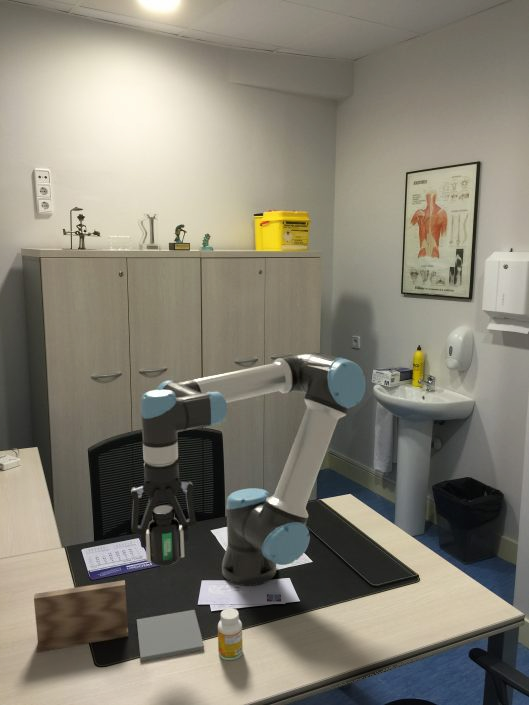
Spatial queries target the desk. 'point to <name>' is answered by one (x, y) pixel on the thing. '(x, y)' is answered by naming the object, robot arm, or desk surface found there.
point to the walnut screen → (80, 615)
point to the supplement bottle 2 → (230, 635)
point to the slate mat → (169, 635)
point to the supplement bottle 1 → (164, 536)
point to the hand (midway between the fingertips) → (165, 556)
